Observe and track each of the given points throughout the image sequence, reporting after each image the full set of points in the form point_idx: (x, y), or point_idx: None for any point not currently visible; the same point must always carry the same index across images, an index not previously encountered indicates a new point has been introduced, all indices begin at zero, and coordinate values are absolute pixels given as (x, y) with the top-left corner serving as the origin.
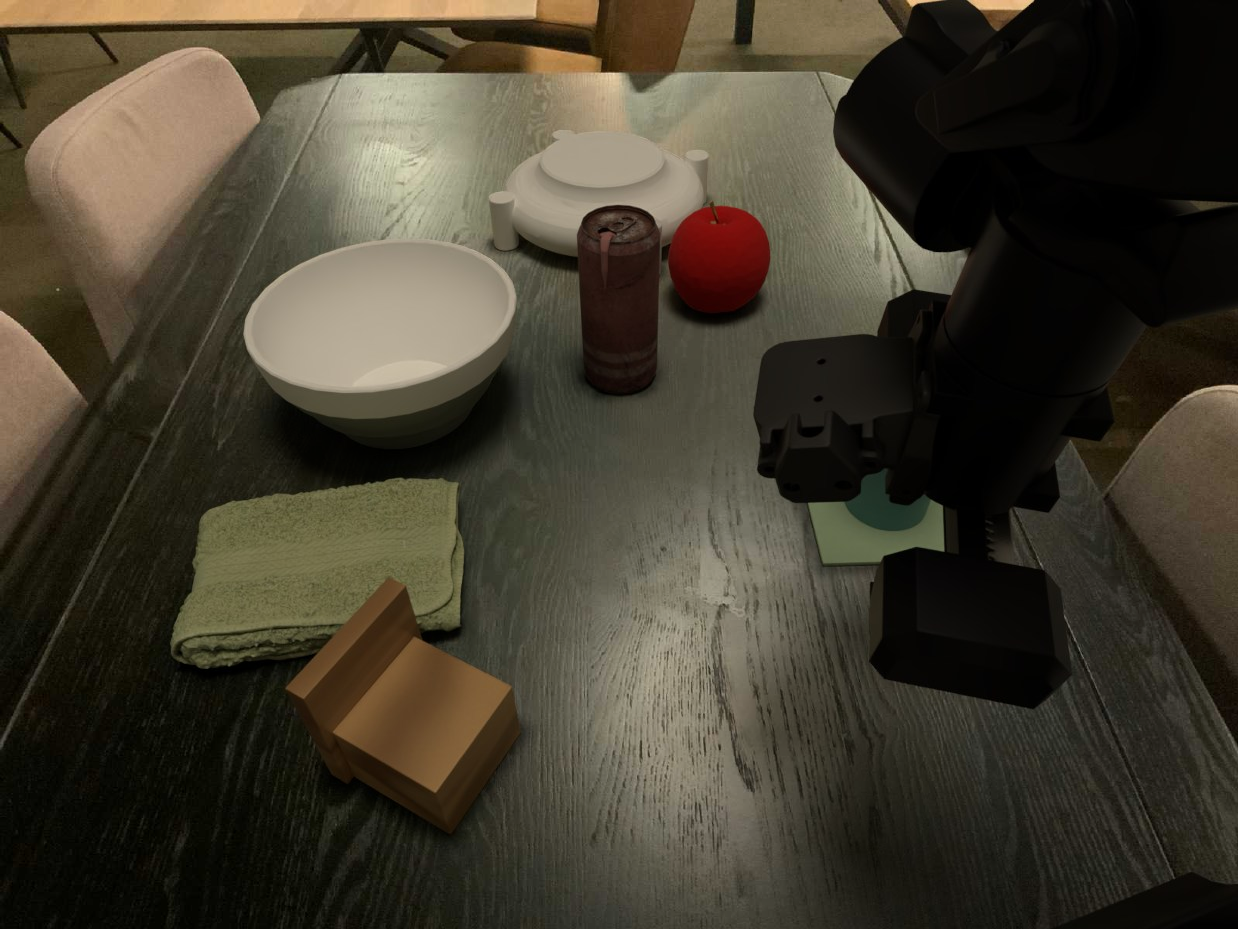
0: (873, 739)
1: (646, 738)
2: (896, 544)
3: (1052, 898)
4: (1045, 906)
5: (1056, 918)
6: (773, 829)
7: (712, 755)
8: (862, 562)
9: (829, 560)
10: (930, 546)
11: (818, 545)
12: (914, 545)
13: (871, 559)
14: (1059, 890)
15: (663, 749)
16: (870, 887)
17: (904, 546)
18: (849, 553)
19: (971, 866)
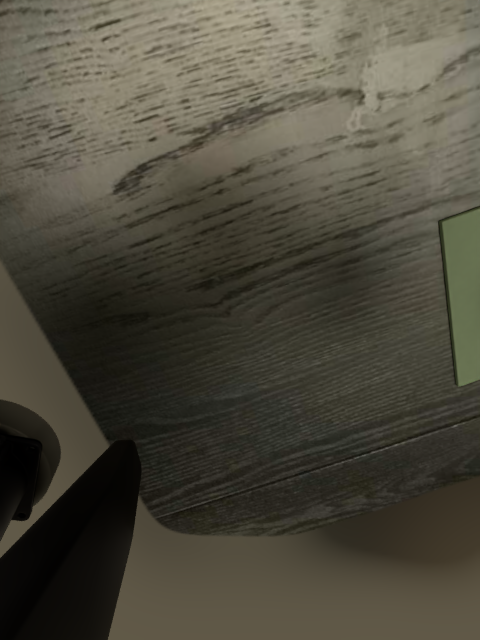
0: (221, 306)
1: (126, 28)
2: (474, 301)
3: None
4: None
5: None
6: (81, 224)
7: (138, 132)
8: (446, 267)
9: (446, 229)
10: (472, 334)
11: (470, 211)
12: (473, 319)
13: (451, 277)
14: None
15: (120, 60)
16: (68, 323)
17: (472, 309)
18: (459, 251)
19: (127, 396)
